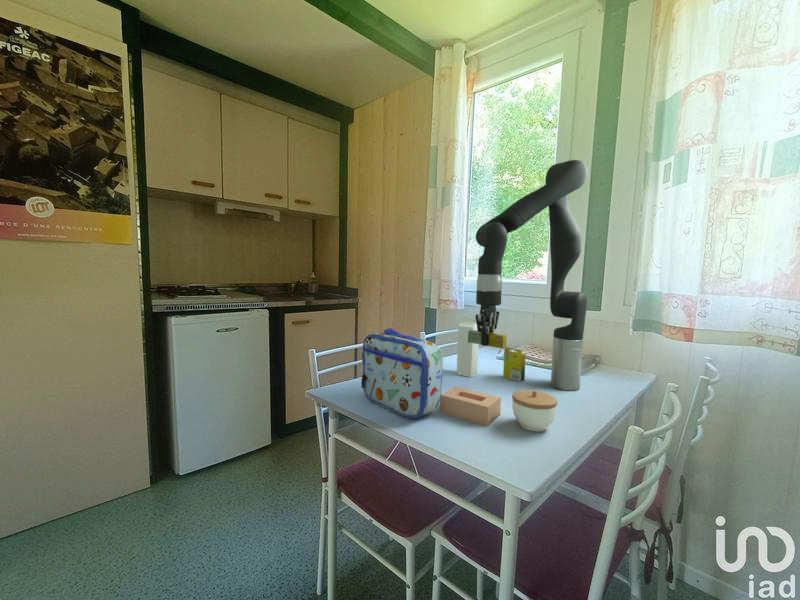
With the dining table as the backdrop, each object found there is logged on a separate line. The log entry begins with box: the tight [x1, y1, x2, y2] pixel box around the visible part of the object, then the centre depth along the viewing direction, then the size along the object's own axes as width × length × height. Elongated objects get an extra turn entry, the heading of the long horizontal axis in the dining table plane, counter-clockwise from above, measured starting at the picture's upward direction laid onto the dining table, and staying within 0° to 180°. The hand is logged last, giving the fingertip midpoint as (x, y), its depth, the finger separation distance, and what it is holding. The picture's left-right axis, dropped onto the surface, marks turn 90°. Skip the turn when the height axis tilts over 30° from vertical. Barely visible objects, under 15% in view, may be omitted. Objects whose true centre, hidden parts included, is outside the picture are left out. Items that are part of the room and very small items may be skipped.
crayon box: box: [502, 346, 527, 383], centre depth 130 cm, size 7×3×12 cm, turn 40°
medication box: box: [468, 330, 508, 349], centre depth 109 cm, size 12×3×4 cm, turn 49°
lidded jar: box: [511, 389, 558, 432], centre depth 90 cm, size 11×11×9 cm
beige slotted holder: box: [439, 386, 502, 427], centre depth 97 cm, size 9×14×5 cm, turn 54°
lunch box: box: [360, 327, 444, 419], centre depth 100 cm, size 28×10×22 cm, turn 44°
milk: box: [456, 316, 479, 378], centre depth 134 cm, size 6×6×22 cm
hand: (486, 344), depth 109 cm, fingers closed on medication box, 3 cm apart
